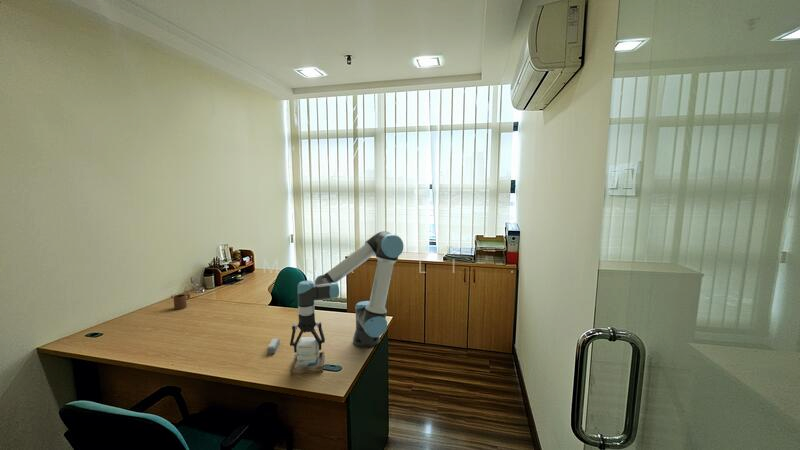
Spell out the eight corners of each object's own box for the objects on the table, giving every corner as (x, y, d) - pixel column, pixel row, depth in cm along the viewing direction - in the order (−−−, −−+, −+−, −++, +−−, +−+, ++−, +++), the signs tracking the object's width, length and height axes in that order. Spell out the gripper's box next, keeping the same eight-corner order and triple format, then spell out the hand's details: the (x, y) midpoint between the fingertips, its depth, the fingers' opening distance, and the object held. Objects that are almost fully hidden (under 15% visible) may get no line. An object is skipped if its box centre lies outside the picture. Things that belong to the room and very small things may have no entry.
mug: (186, 303, 241) (185, 291, 240) (194, 304, 239) (193, 292, 238) (171, 309, 229) (170, 297, 228) (180, 310, 227) (179, 297, 226)
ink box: (318, 358, 158) (318, 336, 157) (315, 367, 150) (314, 344, 149) (301, 358, 158) (301, 336, 157) (297, 368, 150) (296, 344, 148)
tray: (324, 357, 162) (324, 351, 162) (322, 371, 149) (322, 365, 148) (295, 359, 160) (294, 354, 159) (290, 375, 146) (290, 369, 146)
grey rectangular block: (273, 345, 175) (272, 337, 175) (279, 344, 176) (279, 337, 175) (267, 354, 165) (267, 346, 165) (274, 354, 166) (274, 346, 165)
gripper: (329, 308, 157) (331, 351, 159) (284, 311, 153) (286, 355, 155) (329, 314, 150) (330, 359, 152) (281, 317, 146) (283, 363, 148)
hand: (308, 357), depth 154 cm, fingers closed on ink box, 9 cm apart
